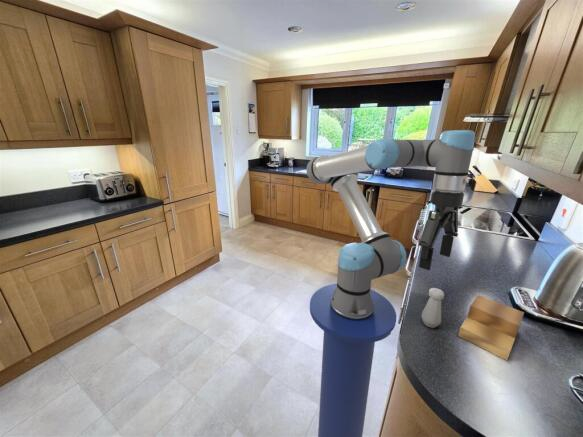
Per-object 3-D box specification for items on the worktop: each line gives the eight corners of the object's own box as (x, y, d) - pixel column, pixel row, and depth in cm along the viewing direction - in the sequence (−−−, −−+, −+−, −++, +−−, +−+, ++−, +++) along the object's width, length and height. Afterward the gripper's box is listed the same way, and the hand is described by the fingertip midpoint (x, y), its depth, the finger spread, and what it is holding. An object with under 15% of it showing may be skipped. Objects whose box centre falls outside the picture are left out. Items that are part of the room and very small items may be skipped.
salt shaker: (439, 332, 78) (447, 297, 74) (419, 325, 81) (426, 292, 77) (440, 321, 83) (447, 288, 79) (421, 315, 86) (427, 283, 82)
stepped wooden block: (458, 335, 77) (463, 314, 74) (472, 314, 87) (477, 294, 84) (507, 360, 68) (515, 337, 66) (517, 333, 78) (524, 312, 76)
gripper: (443, 198, 56) (429, 280, 62) (479, 187, 70) (465, 254, 76) (411, 193, 61) (401, 269, 67) (450, 184, 76) (439, 247, 82)
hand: (435, 261), depth 72 cm, fingers open, 13 cm apart
